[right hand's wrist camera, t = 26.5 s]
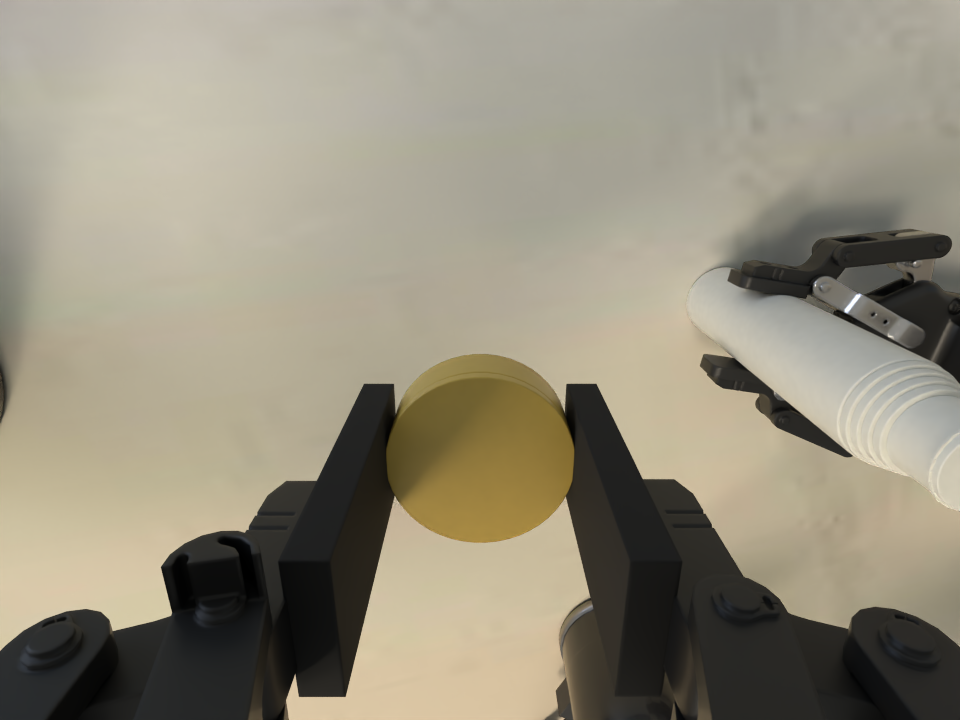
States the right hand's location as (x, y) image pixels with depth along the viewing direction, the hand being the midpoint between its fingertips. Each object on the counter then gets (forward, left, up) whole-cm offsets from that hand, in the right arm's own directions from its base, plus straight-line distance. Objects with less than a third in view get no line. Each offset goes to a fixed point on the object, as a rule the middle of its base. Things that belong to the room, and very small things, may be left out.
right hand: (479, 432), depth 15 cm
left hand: (+7, -12, -18) cm, 23 cm away
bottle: (+8, -15, -24) cm, 30 cm away
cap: (0, 0, +1) cm, 1 cm away
